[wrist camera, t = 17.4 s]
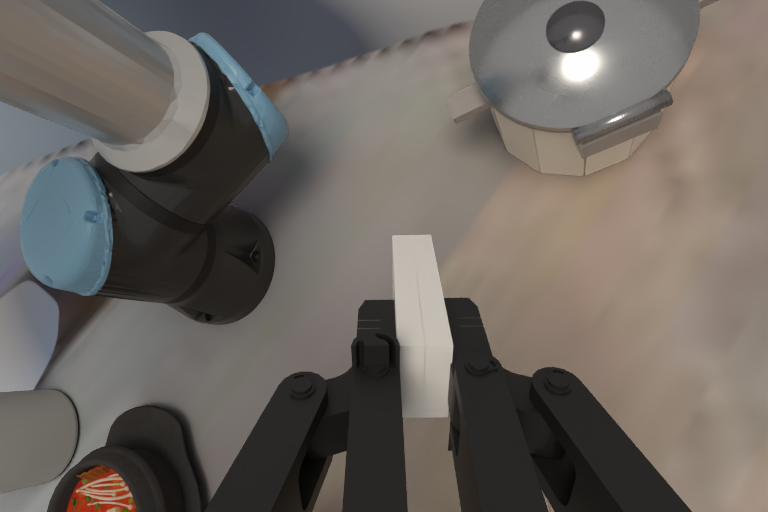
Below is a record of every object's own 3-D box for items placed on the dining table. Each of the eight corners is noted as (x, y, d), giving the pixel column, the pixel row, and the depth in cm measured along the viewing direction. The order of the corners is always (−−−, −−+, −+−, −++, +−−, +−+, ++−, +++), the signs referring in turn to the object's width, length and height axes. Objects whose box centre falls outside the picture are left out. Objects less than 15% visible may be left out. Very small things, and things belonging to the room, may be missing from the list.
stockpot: (740, 126, 43) (791, 57, 33) (498, 222, 50) (480, 189, 40) (655, -13, 49) (678, -109, 39) (446, 90, 55) (418, 31, 45)
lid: (745, 75, 34) (753, 64, 33) (514, 174, 39) (512, 167, 37) (636, -92, 40) (638, -108, 38) (446, 12, 44) (442, 0, 43)
